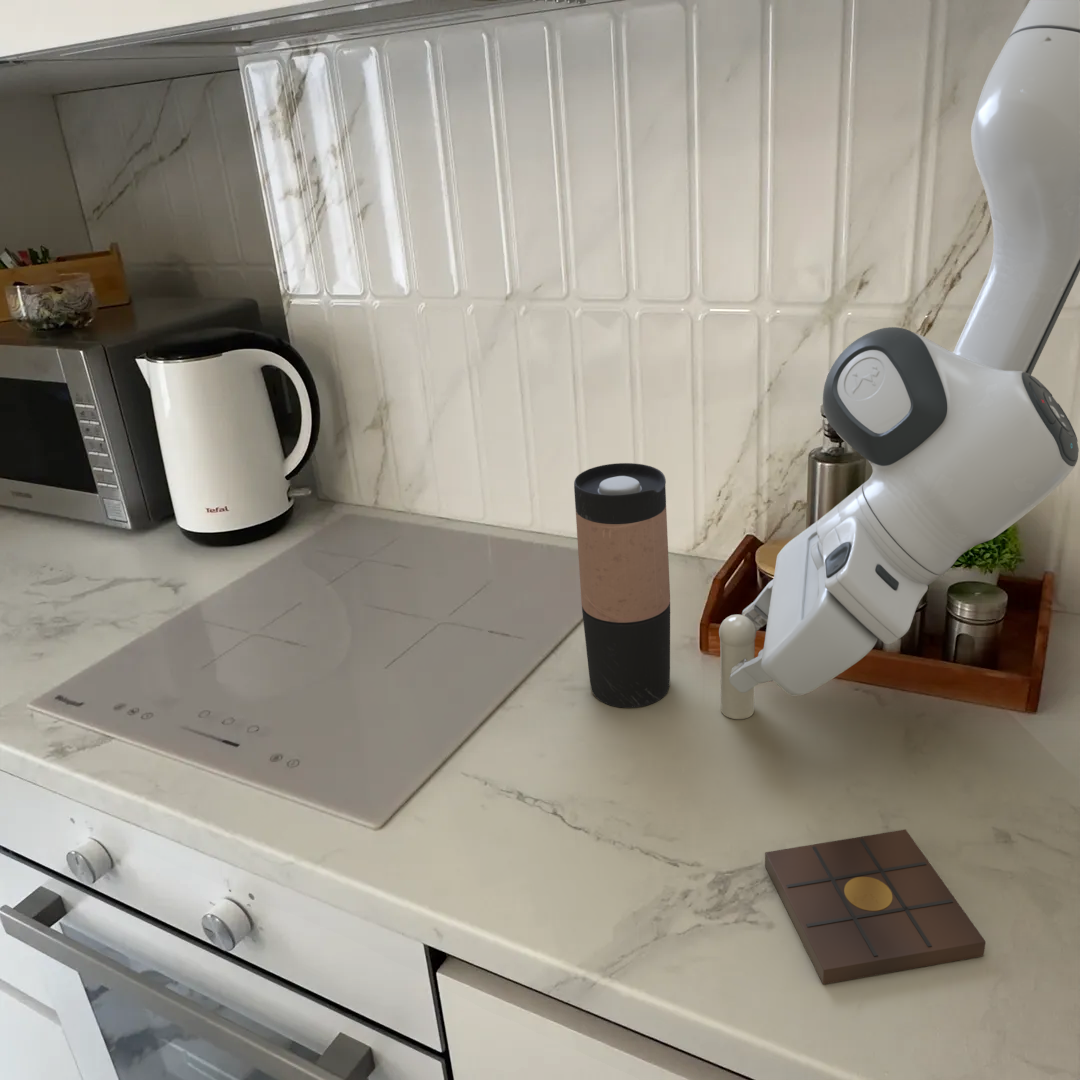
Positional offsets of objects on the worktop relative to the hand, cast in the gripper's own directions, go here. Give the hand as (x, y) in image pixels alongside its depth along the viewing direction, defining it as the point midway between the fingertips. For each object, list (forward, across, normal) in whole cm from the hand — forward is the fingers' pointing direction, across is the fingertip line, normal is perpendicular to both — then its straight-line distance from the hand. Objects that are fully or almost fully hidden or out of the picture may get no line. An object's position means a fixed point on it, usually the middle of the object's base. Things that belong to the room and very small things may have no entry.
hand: (741, 651), depth 81 cm
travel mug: (+11, -2, -3) cm, 12 cm away
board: (-3, +21, +11) cm, 24 cm away
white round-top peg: (+4, 0, +4) cm, 6 cm away
